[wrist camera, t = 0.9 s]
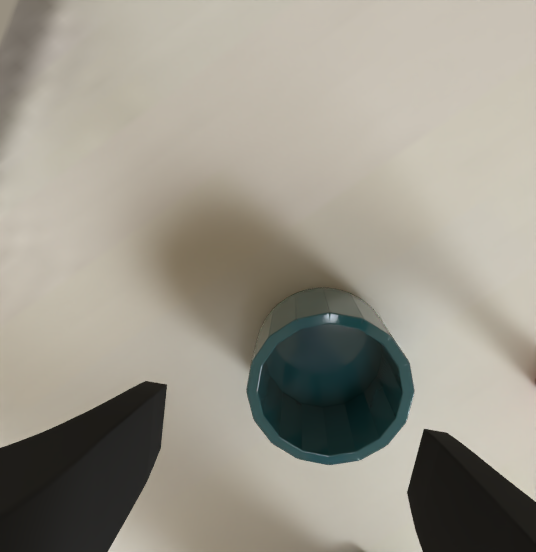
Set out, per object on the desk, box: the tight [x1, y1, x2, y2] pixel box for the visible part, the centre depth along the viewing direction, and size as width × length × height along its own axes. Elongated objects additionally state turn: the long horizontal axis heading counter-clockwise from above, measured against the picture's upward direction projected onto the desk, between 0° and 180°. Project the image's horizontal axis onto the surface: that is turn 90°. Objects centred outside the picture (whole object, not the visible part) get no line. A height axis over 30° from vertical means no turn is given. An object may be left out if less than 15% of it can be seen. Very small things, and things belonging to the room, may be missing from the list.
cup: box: [247, 288, 414, 465], centre depth 19 cm, size 7×7×4 cm
